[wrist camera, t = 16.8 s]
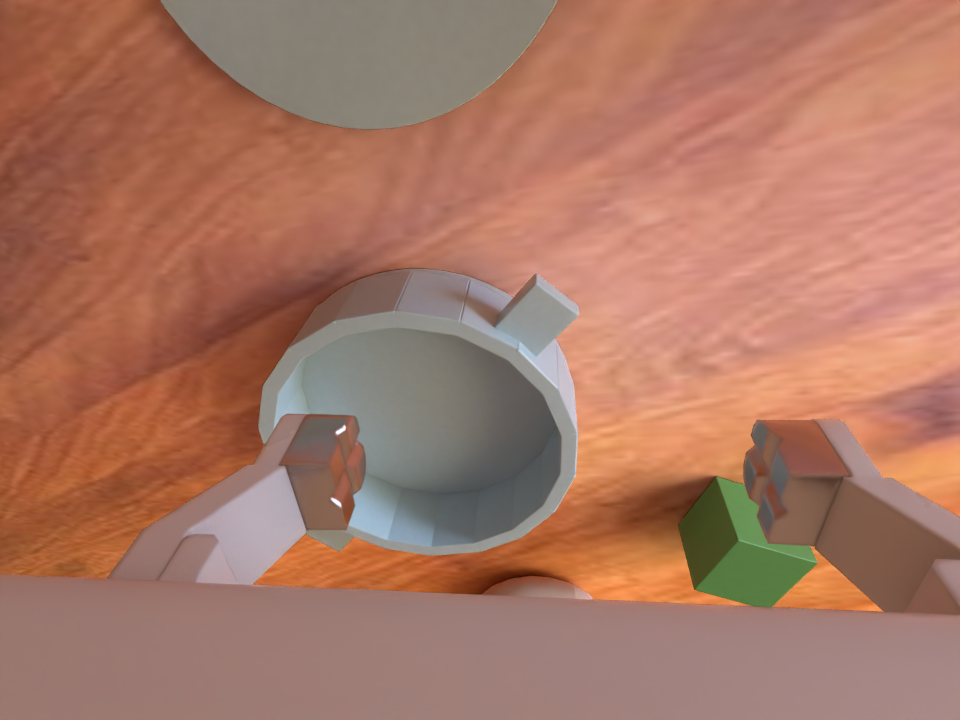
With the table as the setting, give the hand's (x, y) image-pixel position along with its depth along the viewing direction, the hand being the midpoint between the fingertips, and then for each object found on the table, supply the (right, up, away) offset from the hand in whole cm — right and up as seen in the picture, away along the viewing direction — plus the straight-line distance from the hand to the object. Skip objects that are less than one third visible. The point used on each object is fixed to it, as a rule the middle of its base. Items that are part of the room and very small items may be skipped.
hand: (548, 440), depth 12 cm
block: (+14, -7, +23) cm, 28 cm away
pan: (-4, 0, +20) cm, 20 cm away
